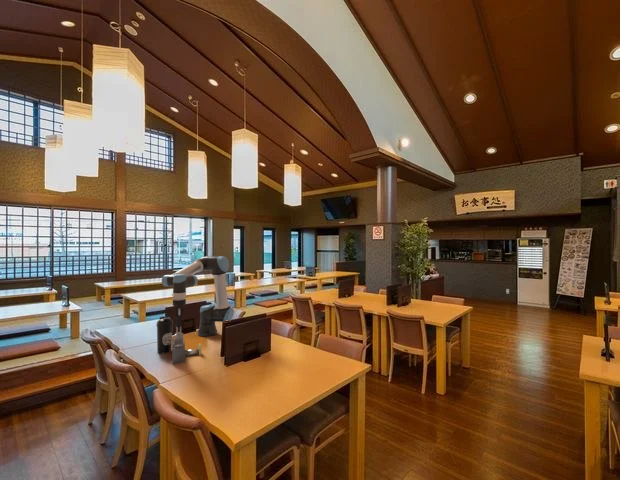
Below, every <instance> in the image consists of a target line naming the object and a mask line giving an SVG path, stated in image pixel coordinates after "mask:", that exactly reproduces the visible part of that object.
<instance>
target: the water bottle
mask: <svg viewBox="0 0 620 480" xmlns="http://www.w3.org/2000/svg"><path fill="white" fill-rule="evenodd" d="M173 325H174V321H173V320H172V319H171V317H169V316H168V317H167V316H166V315H165V316H160V317H159V319H158V320H157V322H156V339H157V346H156V347H157V353H158V354H160V353H164V354H167V353H168V354H169V353H172V339H173Z"/></svg>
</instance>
